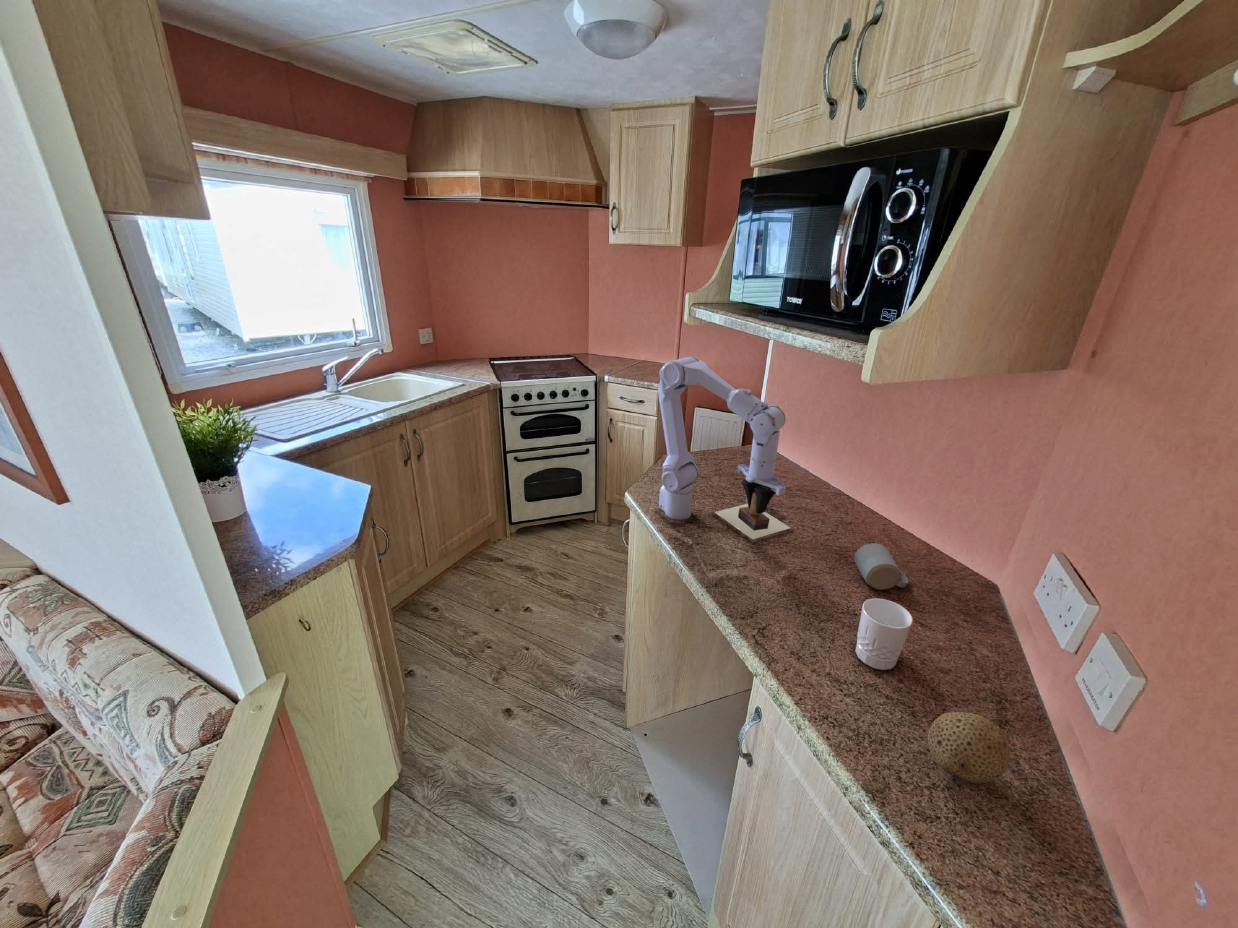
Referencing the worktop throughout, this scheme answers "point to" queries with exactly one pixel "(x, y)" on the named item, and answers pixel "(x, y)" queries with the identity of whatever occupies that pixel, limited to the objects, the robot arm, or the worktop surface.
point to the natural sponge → (968, 747)
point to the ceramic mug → (879, 567)
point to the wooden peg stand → (753, 516)
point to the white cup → (882, 633)
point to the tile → (733, 519)
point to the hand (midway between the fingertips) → (756, 509)
